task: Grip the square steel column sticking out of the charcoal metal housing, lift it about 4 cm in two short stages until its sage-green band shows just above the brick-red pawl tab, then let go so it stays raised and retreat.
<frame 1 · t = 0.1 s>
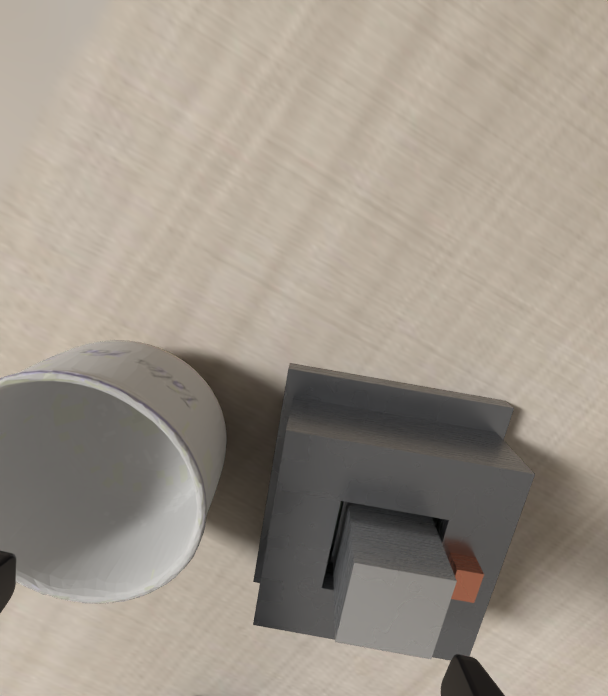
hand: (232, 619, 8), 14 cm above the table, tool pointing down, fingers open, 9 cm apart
housing: (371, 491, 23), on the table
column: (381, 547, 19), point 5 cm above the table, slide at 0.0 cm, touching housing
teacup: (127, 415, 23), on the table
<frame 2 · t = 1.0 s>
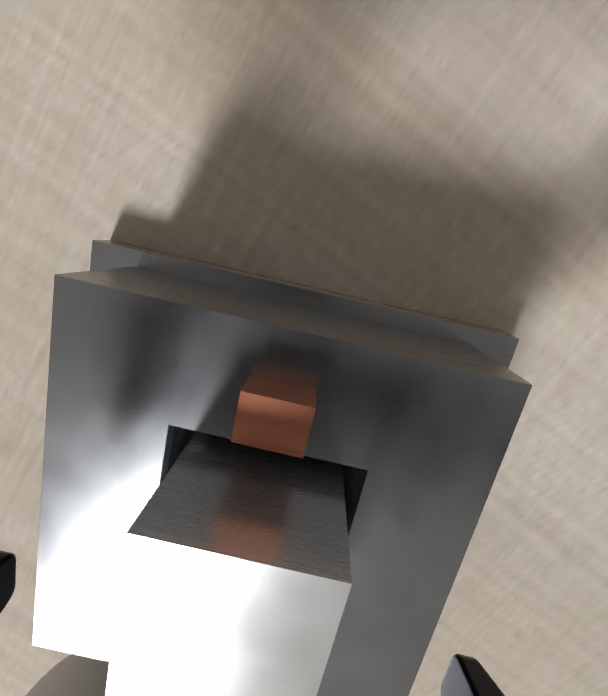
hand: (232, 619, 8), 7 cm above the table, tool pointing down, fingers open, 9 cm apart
housing: (273, 440, 15), on the table
column: (252, 519, 11), point 5 cm above the table, slide at 0.0 cm, touching housing
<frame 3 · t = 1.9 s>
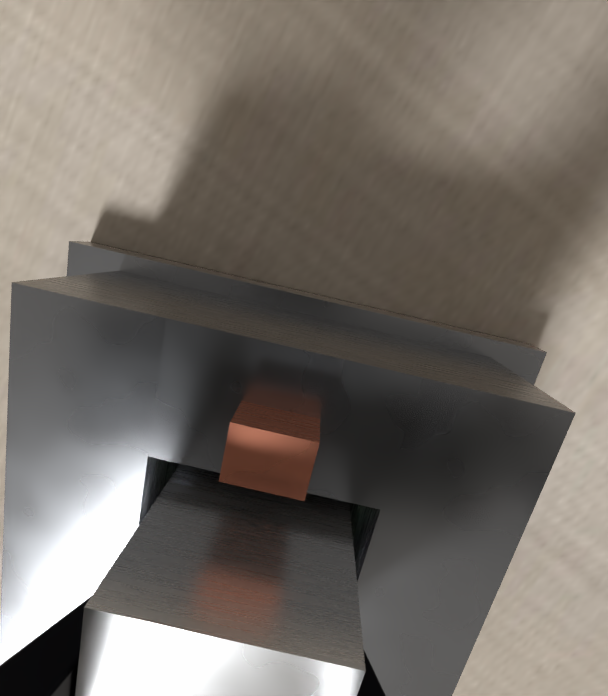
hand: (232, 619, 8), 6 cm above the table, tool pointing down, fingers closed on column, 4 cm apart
housing: (271, 461, 14), on the table
column: (247, 560, 9), point 4 cm above the table, slide at 0.0 cm, touching gripper, housing
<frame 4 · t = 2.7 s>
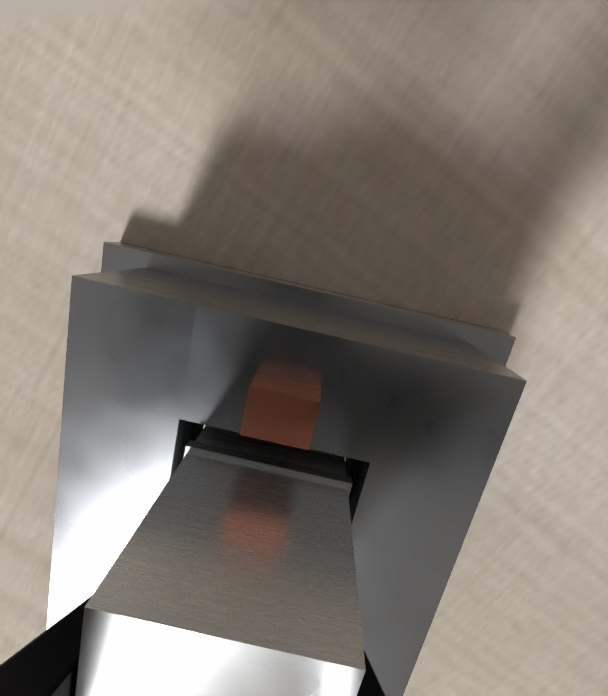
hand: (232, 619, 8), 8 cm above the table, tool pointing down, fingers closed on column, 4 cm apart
housing: (277, 436, 15), on the table
column: (246, 560, 9), point 6 cm above the table, slide at 1.8 cm, touching gripper
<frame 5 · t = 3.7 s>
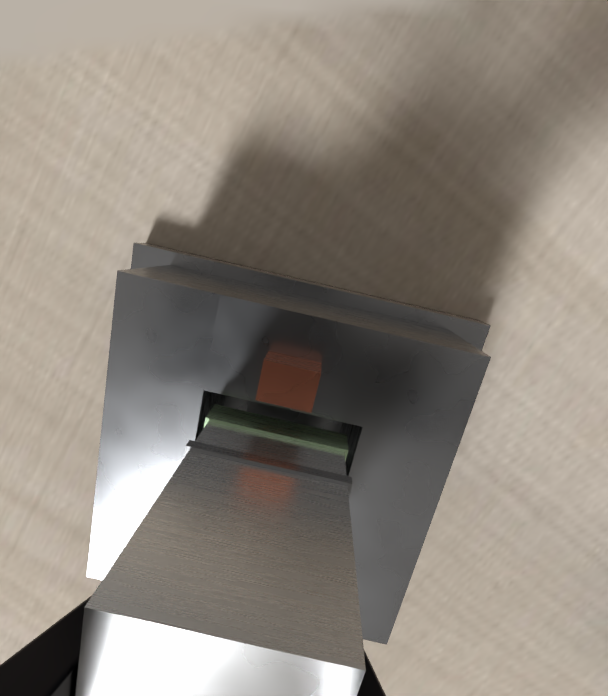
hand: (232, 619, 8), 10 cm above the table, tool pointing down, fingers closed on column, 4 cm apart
housing: (282, 414, 17), on the table
column: (247, 560, 9), point 8 cm above the table, slide at 3.9 cm, touching gripper
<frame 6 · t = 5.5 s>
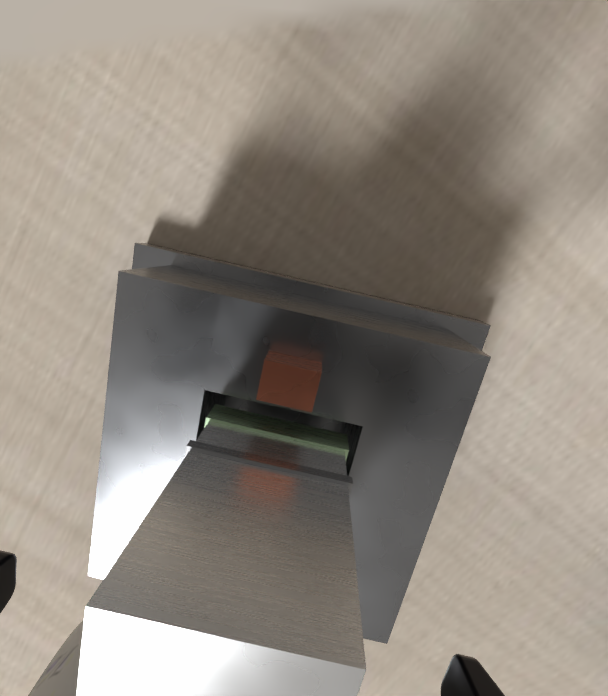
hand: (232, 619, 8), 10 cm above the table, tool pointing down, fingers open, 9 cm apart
housing: (283, 414, 18), on the table
column: (247, 560, 9), point 8 cm above the table, slide at 4.0 cm
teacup: (192, 650, 22), on the table
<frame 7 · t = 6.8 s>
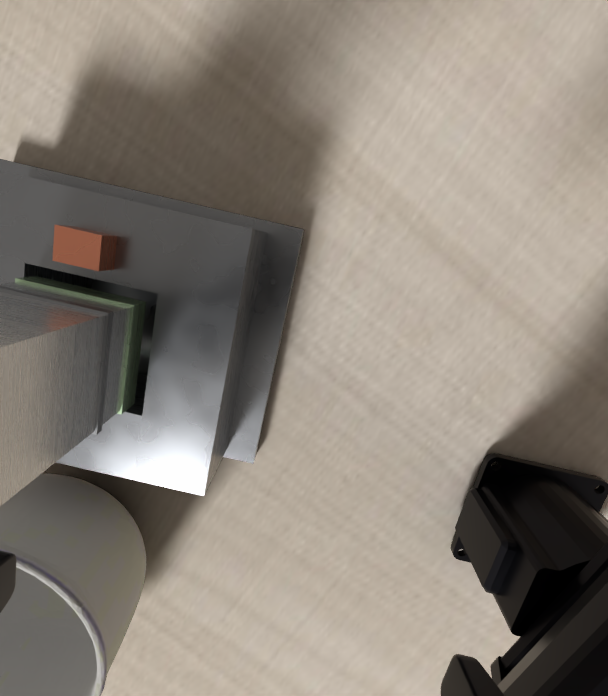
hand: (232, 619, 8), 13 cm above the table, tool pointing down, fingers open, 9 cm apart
housing: (144, 319, 20), on the table
column: (17, 369, 12), point 8 cm above the table, slide at 4.0 cm
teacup: (85, 548, 24), on the table
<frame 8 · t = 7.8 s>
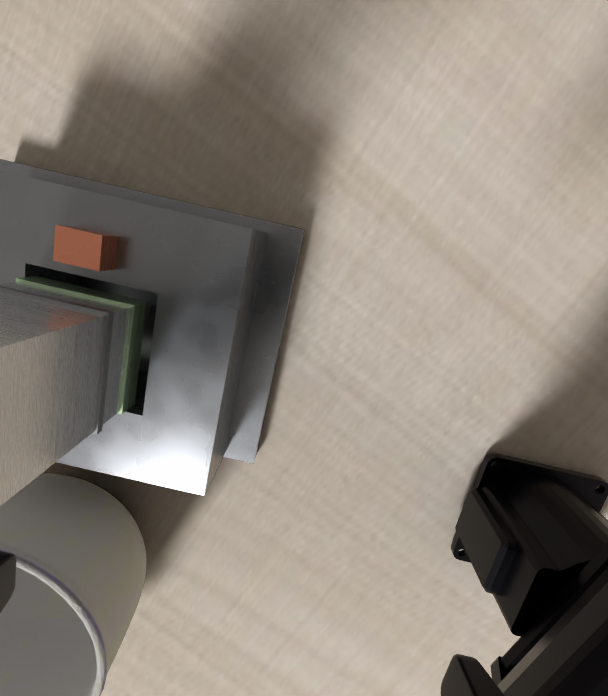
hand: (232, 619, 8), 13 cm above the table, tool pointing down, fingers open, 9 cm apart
housing: (144, 319, 20), on the table
column: (18, 369, 12), point 8 cm above the table, slide at 4.0 cm
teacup: (85, 548, 24), on the table
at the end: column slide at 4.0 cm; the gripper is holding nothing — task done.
